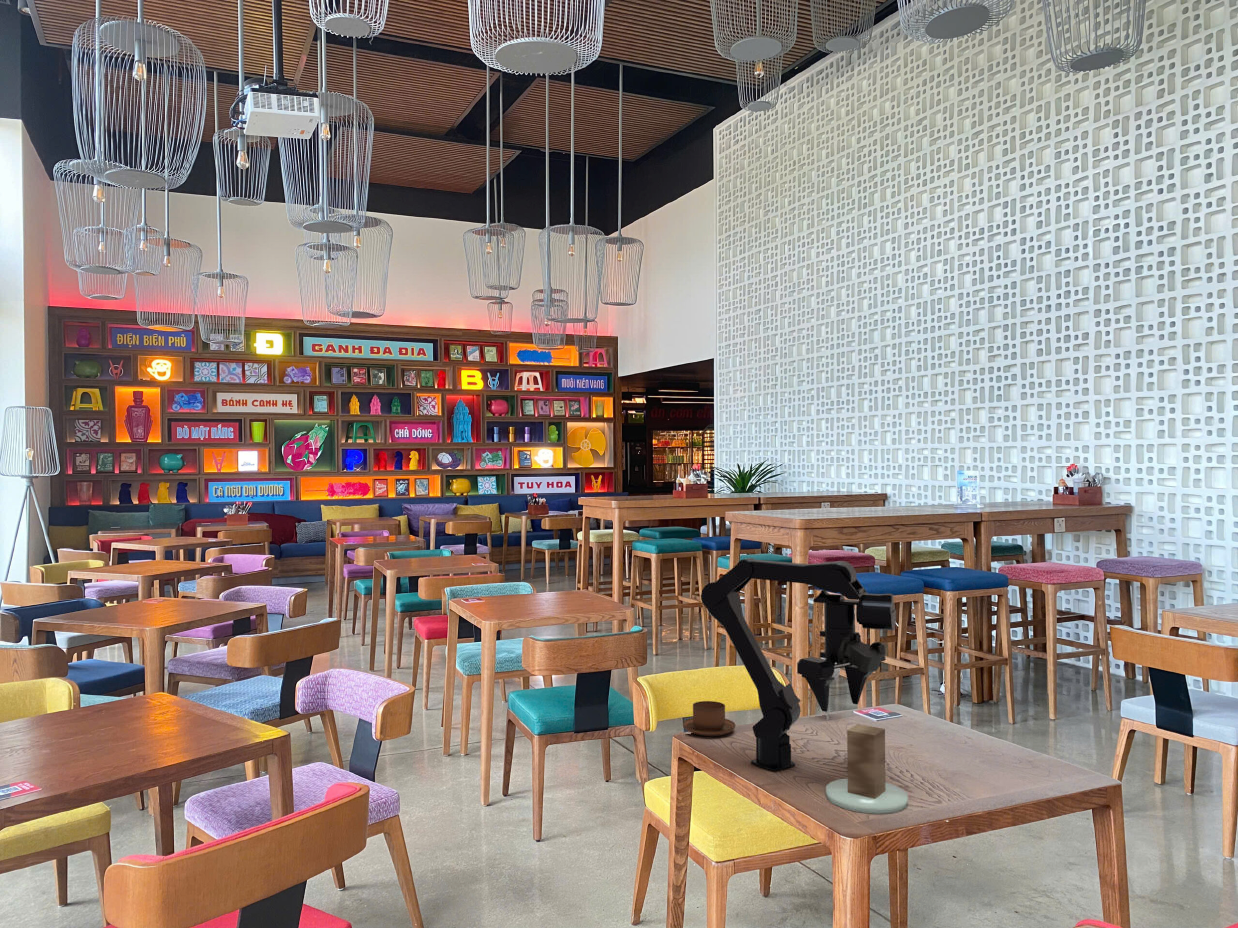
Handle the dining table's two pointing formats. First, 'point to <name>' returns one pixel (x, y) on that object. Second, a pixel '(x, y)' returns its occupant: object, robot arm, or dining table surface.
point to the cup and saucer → (709, 719)
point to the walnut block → (866, 760)
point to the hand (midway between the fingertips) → (840, 707)
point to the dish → (867, 799)
